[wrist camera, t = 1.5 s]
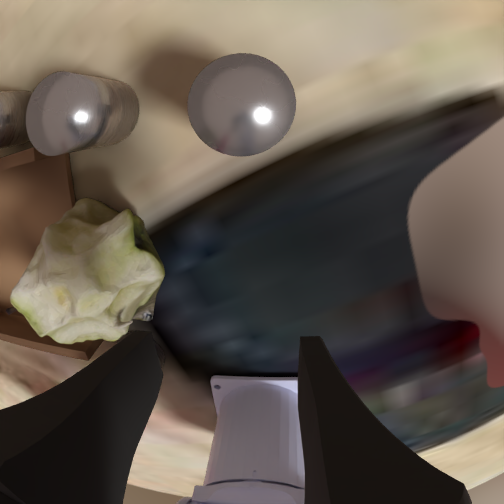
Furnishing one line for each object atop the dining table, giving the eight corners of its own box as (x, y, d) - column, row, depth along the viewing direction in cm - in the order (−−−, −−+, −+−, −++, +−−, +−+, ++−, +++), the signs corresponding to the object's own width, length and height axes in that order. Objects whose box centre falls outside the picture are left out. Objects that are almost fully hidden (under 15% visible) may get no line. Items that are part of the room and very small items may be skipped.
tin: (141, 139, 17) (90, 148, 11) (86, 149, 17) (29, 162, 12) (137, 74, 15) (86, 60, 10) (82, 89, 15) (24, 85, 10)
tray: (108, 332, 22) (88, 360, 19) (3, 315, 24) (-17, 334, 20) (67, 141, 17) (33, 147, 14) (-36, 173, 18) (-63, 183, 15)
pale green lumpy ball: (72, 296, 22) (2, 340, 14) (79, 179, 19) (-8, 191, 12) (173, 338, 21) (118, 410, 13) (196, 208, 18) (125, 235, 11)
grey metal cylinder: (291, 146, 16) (297, 155, 11) (218, 149, 17) (190, 159, 11) (288, 75, 15) (293, 51, 10) (214, 79, 15) (185, 59, 10)
